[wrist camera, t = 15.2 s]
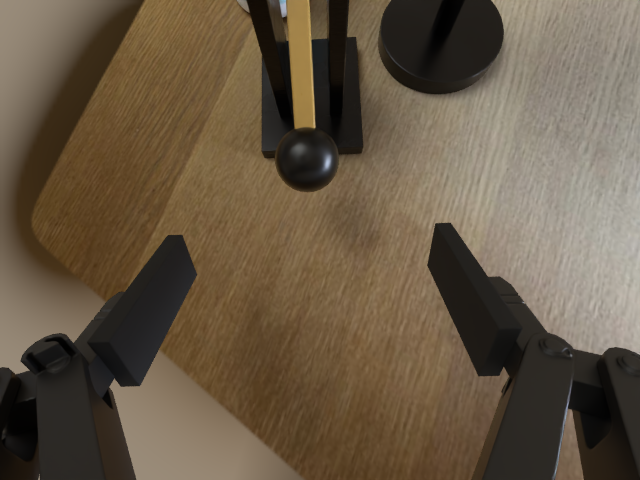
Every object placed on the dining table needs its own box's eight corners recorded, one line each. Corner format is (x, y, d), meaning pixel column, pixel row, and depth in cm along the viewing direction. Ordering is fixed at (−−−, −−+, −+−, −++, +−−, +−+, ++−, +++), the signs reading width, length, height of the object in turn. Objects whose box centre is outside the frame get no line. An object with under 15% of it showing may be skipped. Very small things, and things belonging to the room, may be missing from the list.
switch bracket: (361, 153, 25) (398, -20, 11) (264, 158, 25) (184, -6, 11) (355, 48, 26) (379, -212, 13) (264, 53, 27) (196, -197, 13)
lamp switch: (338, 186, 19) (341, 195, 16) (282, 188, 19) (273, 198, 16) (331, -79, 15) (333, -142, 12) (260, -73, 15) (241, -135, 12)
